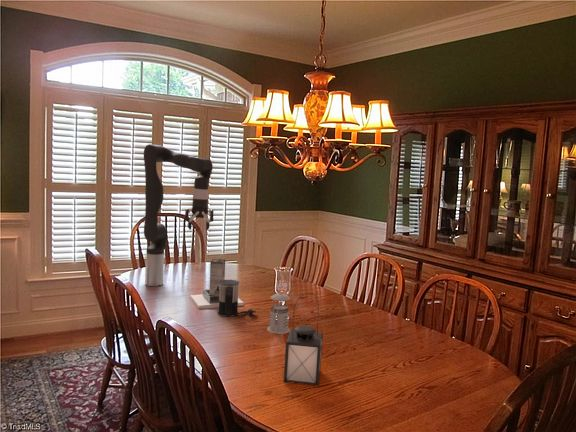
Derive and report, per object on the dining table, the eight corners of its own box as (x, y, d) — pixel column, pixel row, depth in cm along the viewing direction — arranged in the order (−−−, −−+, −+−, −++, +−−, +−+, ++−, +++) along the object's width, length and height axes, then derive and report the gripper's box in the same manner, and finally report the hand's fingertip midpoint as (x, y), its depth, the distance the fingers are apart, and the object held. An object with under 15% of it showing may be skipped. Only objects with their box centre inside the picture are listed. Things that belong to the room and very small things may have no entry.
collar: (209, 303, 221) (209, 297, 221) (202, 295, 234) (202, 289, 233) (230, 302, 226) (231, 295, 225) (223, 294, 238) (223, 288, 238)
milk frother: (215, 311, 215) (216, 279, 214) (247, 308, 222) (248, 277, 221) (224, 321, 202) (226, 287, 201) (258, 317, 209) (260, 285, 208)
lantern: (283, 382, 148) (288, 296, 145) (287, 367, 159) (292, 287, 156) (318, 386, 147) (324, 299, 144) (320, 371, 158) (326, 290, 155)
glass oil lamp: (293, 327, 199) (296, 269, 196) (285, 336, 188) (289, 275, 185) (271, 324, 202) (274, 267, 199) (262, 333, 190) (265, 272, 188)
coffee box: (211, 290, 234) (212, 258, 232) (224, 290, 234) (225, 258, 232) (208, 295, 225) (210, 262, 223) (222, 295, 225) (223, 262, 223)
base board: (198, 308, 217) (198, 305, 217) (190, 298, 233) (190, 295, 233) (243, 305, 226) (243, 302, 226) (232, 295, 242) (232, 292, 242)
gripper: (212, 197, 243) (210, 228, 245) (184, 196, 237) (182, 228, 239) (216, 199, 236) (213, 231, 238) (187, 197, 230) (185, 230, 232)
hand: (198, 229), depth 239 cm, fingers open, 8 cm apart
